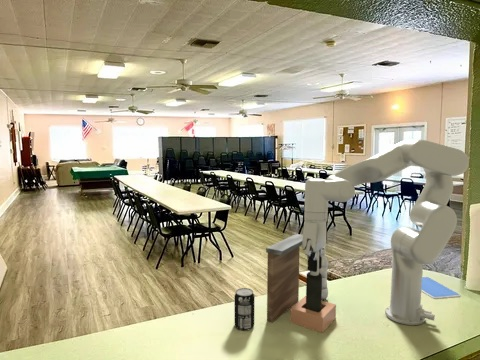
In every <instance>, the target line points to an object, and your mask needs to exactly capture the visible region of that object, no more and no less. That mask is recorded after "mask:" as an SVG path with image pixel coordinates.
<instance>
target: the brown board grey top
mask: <svg viewBox="0 0 480 360" xmlns="http://www.w3.org/2000/svg"><path fill="white" fill-rule="evenodd" d="M302 238H303V234H298V233H296V234H292V235H291V236H287V238H284V239H282V240H280V241H278V242H276V243H274V244H272V245H270V246H267V247H266V248H265V252H266V253H267V268H266V269H267V276H266V277H267V278H266V279H267V281H266V282H267V283H266V284H267V288H266V290H267V291H266V293H267V294H266V296H267V297H266V301H267V302H266V322H267V323H270V324H273V323H274V322H275V321H277V320H278V319H280V317H281V316H283V315H284V314H285V313H286V312H288V311H290V310H291V307H293V306H294V305H295V304H296V303H298V302H299V293H300V292H299V291H300V286H299V285H300V247H302Z"/></svg>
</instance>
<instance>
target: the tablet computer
mask: <svg viewBox="0 0 480 360" xmlns="http://www.w3.org/2000/svg"><path fill="white" fill-rule="evenodd" d="M421 293H424V294H425V295H427V296H428V297H430V298H431V299H434V300H437V299H450V298H461V297H460V296H461V294H460V293H458V292H456V291H454V290H453V289H451V288H449V287H447V286H445V285H443V284H441V283H440V282H438V281H436V280H434V279H432V278H431V277H429V276H422V288H421Z"/></svg>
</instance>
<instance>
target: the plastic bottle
mask: <svg viewBox="0 0 480 360" xmlns="http://www.w3.org/2000/svg"><path fill="white" fill-rule="evenodd" d="M329 264H330V263H329V260H328V258H327V256H326V248H325V247H323V250H322V267H321V269H319V273H321V275H322V299H321V300H322V301H325V300H327V298H328V297H329V289H328V269H329Z"/></svg>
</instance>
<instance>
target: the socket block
mask: <svg viewBox="0 0 480 360" xmlns="http://www.w3.org/2000/svg"><path fill="white" fill-rule="evenodd" d="M336 311H337V304H335V303H332V302H329V301H325V300H321V311H320V312H319V313H318V312H315V311H312V310H308V309H306V295H305V296H303V297H302V298H301V299H300V300H298V302H297V303H296V304H295V305H294V306H292V307H291V308H290V323H292V324H295V325H298V326H301V327H305V328H307V329H309V330H313V331H316V332H319V333H321V334H323V333H324V332H325V331H326V330H327V329H328V328H329V326H330V325H331V324H332V323H333V322H334V321H335V319H336V314H337V312H336Z"/></svg>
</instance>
